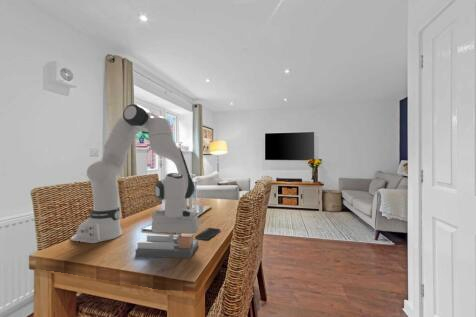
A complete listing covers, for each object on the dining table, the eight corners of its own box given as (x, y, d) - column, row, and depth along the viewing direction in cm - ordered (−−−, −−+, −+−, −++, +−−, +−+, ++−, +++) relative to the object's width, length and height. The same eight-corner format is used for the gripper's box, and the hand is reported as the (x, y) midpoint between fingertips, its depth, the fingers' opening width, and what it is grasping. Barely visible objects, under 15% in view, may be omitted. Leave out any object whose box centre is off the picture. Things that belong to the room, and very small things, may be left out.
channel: (135, 256, 86) (135, 244, 86) (149, 244, 98) (149, 233, 98) (190, 257, 85) (190, 245, 85) (197, 245, 97) (197, 234, 97)
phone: (194, 237, 105) (208, 227, 119) (194, 239, 105) (208, 229, 119) (208, 239, 102) (221, 229, 116) (208, 241, 102) (221, 231, 116)
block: (178, 247, 89) (177, 238, 89) (181, 242, 94) (181, 233, 94) (189, 247, 88) (189, 238, 88) (192, 243, 93) (192, 234, 93)
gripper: (148, 212, 89) (148, 244, 89) (196, 213, 87) (196, 246, 87) (155, 208, 95) (155, 238, 95) (199, 209, 94) (200, 240, 94)
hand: (175, 242), depth 91 cm, fingers closed
